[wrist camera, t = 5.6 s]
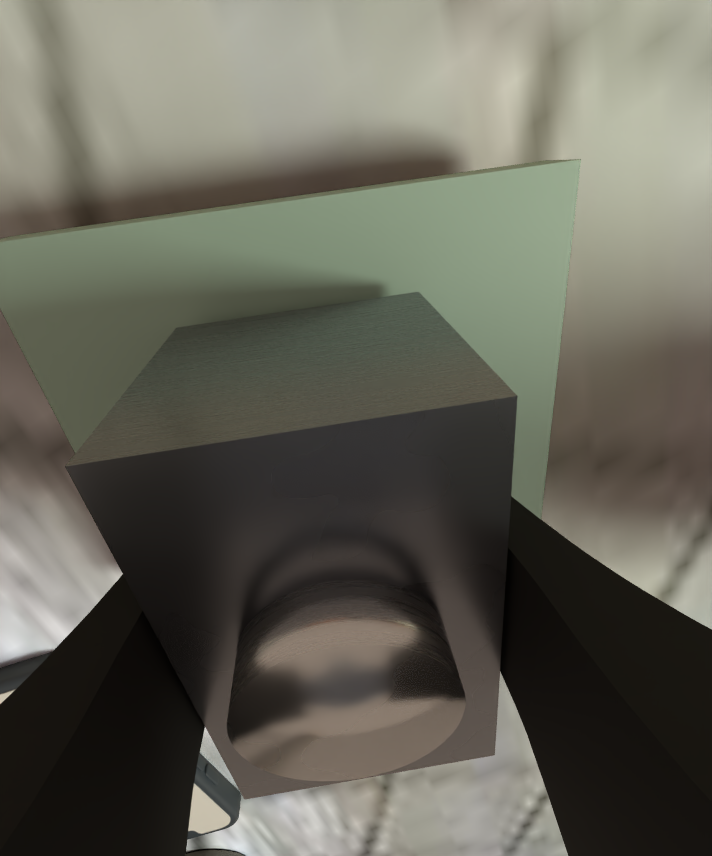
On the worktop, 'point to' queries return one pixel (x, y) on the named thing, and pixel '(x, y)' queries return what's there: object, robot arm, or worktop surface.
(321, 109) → the worktop surface
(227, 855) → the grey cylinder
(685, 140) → the worktop surface
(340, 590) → the housing
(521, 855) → the worktop surface
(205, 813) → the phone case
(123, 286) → the stand
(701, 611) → the worktop surface
